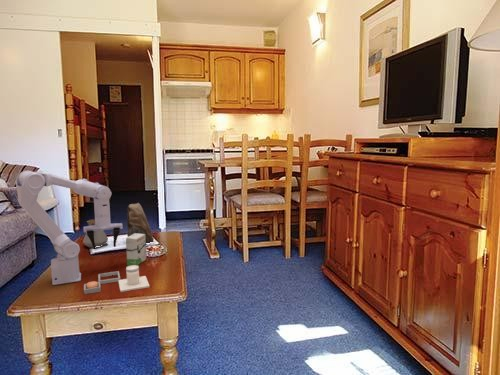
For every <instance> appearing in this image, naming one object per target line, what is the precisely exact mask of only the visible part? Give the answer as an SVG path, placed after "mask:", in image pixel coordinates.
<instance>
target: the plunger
mask: <svg viewBox="0 0 500 375" xmlns="http://www.w3.org/2000/svg"><path fill="white" fill-rule="evenodd" d="M98 282H99V281H95V280H93V281H88V282H87V283H86V284H87V289H89V288H95V287H98Z"/></svg>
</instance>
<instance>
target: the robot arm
mask: <svg viewBox="0 0 500 375" xmlns="http://www.w3.org/2000/svg"><path fill="white" fill-rule="evenodd" d="M52 185H54V186H59V187H62V188H63V187H64V188H66V189H70V190H73V192H74V193H75V194H77V195H80V196H84V197H89V198H93V207H94V210H93V211H94V219H95V225H92V226H89V225H87V226H83V233H86V232H87V235H88V237H89V239H90V240H91V243H92V245H93V248H92V249H93V250H95V249H96V248H95V241H94V231H100V230H104V231H109V230H112V233H113V234H112V235H113V242H112V243H113V247H114V248H115V247H117V245H116V244H117V240H118V236H119V234H120V232H121V230H123V228H124V227H123V223H122V222H120V223H117V222H116V223H111V222H112V221H111V208H110V207H111V206H110V205H111V204H110V199H111V196H112V191H111V189H110V188H109V186H107V185H103V184H100V183H99V182H92V181H89V180H88V179H86V178H82V179H78V180H72V179H69V178H67V177H66V178H65V177H62V176H58V175H55V174H51V173H47V172H40V171H32V170H24V171H21V172H20V173H19V174H18V176H17V178H16V181H15V186H16V191H17V193H16V194H17V203H18V204H19V205H20V207H22V209H24V211H25V212H26V213H27V214H28V216H29V217H30V218H31V220H33V221H34V223H35V224H37V226H38V227H39V228H40V229H41V231H43V233H44V234H45V235H46V237H48V238H49V240H50V242H51V243H52V245H53V248H54V252H56V253H57V255H56V257H55V258H52V259H50V269H51V270H50V271H51V282H52V284H51V285H52V286H56V285H62V284H69V283H76V282H81V280H82V273H81V272H80V264H79V263H80V262H79V253H80V251H81V247H80V245H79V244H78V243H77V242H75V241H73V240H71V239H70V237H69V236H67V234H66V233H64V232H63V230H62V229H61V228H60V227H59V226H58V225H57V223H56V222H55V221H54V220H53V219H52V218H51V216H50V215H49V213H48V212H47V211H46V210H45V209H44V208H43V207H42V205H40V203H39V202H38V196H39V193H40V192H41V191H42V190H43V188H44V187H46V188H47V187H49V186H52Z"/></svg>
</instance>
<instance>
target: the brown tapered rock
mask: <svg viewBox="0 0 500 375" xmlns="http://www.w3.org/2000/svg"><path fill="white" fill-rule="evenodd" d="M125 211H126V217H127V218H126V222H127V224H126V225H127V237H129V236H131V235H133V234H135V233H139V234H145V241H146V243H150V242H154V236H153V232H152V229H151V227H150V224H149V221H148V219H147V216H146V214H145V211H144V208H143V207H142V205H141V204H140V202H137V203H131V204H128V206H127V208H126V210H125Z"/></svg>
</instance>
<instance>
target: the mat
mask: <svg viewBox="0 0 500 375" xmlns="http://www.w3.org/2000/svg"><path fill="white" fill-rule="evenodd" d="M117 283H118V287H119V292H120V293H123V292H129V291H135V290H136V291H137V290H140V289H141V290H142V289H146V288H150V284H149V281H148V278H147V276H146V275H142V276H139V283H138V284H136V285H128V284H127V278H123V279H120V280H118V282H117Z"/></svg>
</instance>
